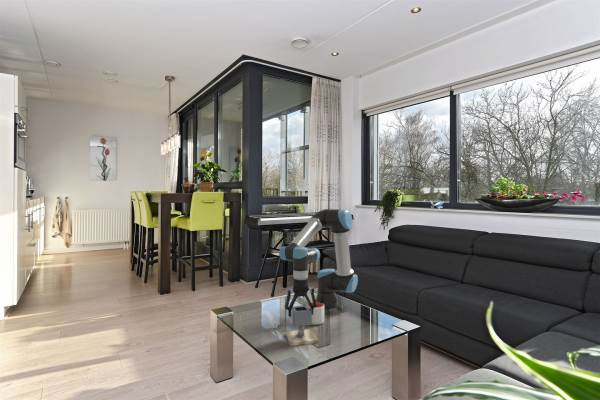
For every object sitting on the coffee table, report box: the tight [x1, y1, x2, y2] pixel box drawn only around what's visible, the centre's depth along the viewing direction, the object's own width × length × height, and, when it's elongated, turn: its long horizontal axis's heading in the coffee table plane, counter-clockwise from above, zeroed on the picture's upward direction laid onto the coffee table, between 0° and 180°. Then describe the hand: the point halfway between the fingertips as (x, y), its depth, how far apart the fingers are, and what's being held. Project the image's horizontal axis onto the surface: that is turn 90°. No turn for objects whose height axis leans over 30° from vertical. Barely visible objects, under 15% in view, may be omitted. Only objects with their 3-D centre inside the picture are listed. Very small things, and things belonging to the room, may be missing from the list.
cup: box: [306, 301, 325, 326], centre depth 203 cm, size 10×10×10 cm
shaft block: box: [284, 325, 319, 347], centre depth 181 cm, size 14×14×10 cm
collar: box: [292, 304, 313, 327], centre depth 180 cm, size 9×9×7 cm
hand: (300, 321), depth 180 cm, fingers closed on collar, 9 cm apart
